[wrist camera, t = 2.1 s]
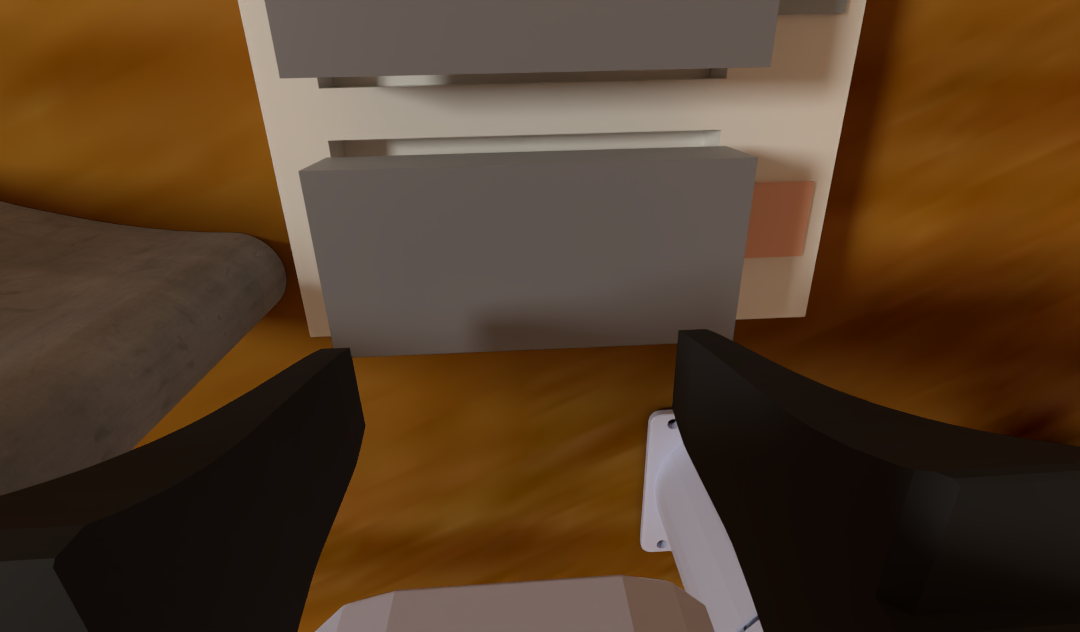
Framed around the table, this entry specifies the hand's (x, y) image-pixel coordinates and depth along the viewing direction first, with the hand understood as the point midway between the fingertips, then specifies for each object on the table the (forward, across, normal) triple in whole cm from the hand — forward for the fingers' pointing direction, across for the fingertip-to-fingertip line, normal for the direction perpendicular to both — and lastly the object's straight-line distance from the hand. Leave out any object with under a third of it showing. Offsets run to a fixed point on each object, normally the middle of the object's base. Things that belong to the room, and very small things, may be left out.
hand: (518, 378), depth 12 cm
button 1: (+5, -1, -2) cm, 5 cm away
